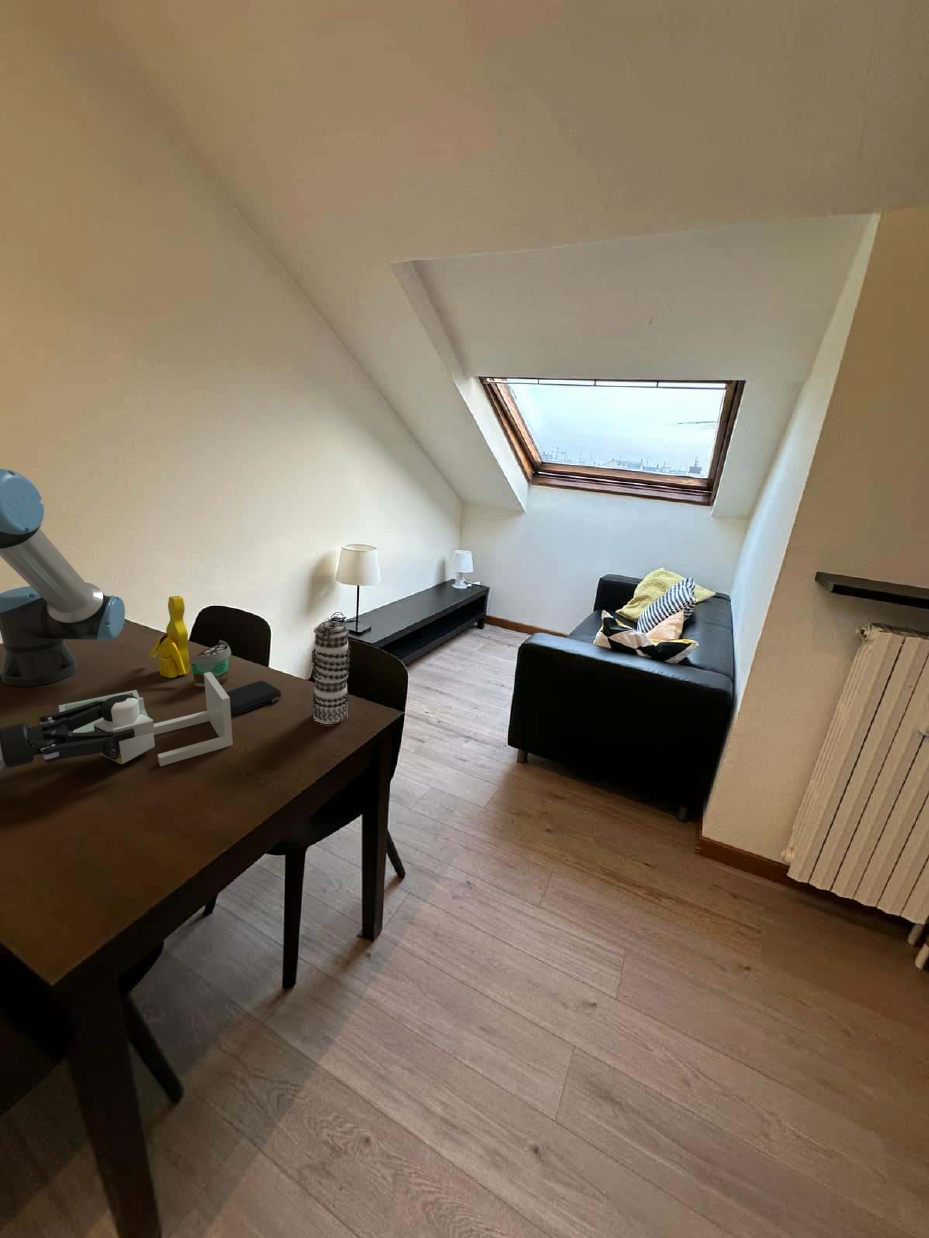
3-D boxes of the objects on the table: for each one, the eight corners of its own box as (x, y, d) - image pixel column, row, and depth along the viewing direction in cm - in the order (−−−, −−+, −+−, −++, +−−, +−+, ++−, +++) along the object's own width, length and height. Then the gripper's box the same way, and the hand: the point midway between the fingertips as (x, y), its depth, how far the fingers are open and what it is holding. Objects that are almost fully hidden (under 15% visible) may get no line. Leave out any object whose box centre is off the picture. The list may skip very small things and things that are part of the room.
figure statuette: (143, 667, 137) (134, 593, 129) (172, 659, 143) (164, 587, 136) (178, 688, 128) (170, 610, 121) (207, 678, 134) (201, 603, 127)
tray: (60, 714, 112) (58, 705, 111) (137, 698, 122) (136, 689, 121) (65, 747, 102) (63, 737, 101) (149, 726, 111) (148, 717, 110)
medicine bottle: (97, 753, 99) (88, 702, 95) (132, 736, 105) (125, 687, 101) (121, 765, 96) (113, 712, 92) (155, 747, 103) (149, 697, 99)
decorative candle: (356, 718, 124) (359, 627, 115) (324, 730, 117) (324, 634, 109) (336, 703, 129) (338, 615, 121) (304, 714, 123) (304, 622, 114)
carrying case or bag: (234, 722, 117) (287, 700, 129) (233, 711, 116) (287, 690, 128) (210, 705, 123) (263, 686, 134) (210, 695, 122) (263, 677, 133)
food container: (212, 695, 127) (209, 660, 124) (191, 690, 128) (188, 655, 125) (242, 675, 138) (240, 643, 135) (222, 671, 139) (220, 639, 136)
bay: (146, 733, 109) (140, 685, 105) (214, 716, 118) (210, 671, 114) (160, 766, 99) (153, 715, 95) (232, 745, 108) (229, 697, 104)
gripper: (6, 736, 96) (140, 706, 110) (5, 801, 80) (161, 756, 95) (-3, 702, 93) (136, 676, 107) (-5, 763, 78) (157, 723, 92)
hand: (148, 714), depth 101 cm, fingers closed on medicine bottle, 9 cm apart
